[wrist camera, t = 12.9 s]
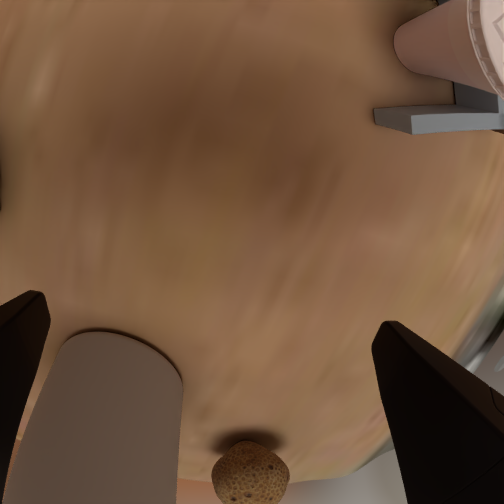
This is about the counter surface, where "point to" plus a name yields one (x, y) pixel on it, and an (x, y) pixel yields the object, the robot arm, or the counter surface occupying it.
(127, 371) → the cylinder vase
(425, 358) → the robot arm
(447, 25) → the smoothie
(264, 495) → the natural sponge
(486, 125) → the cradle
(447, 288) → the counter surface
